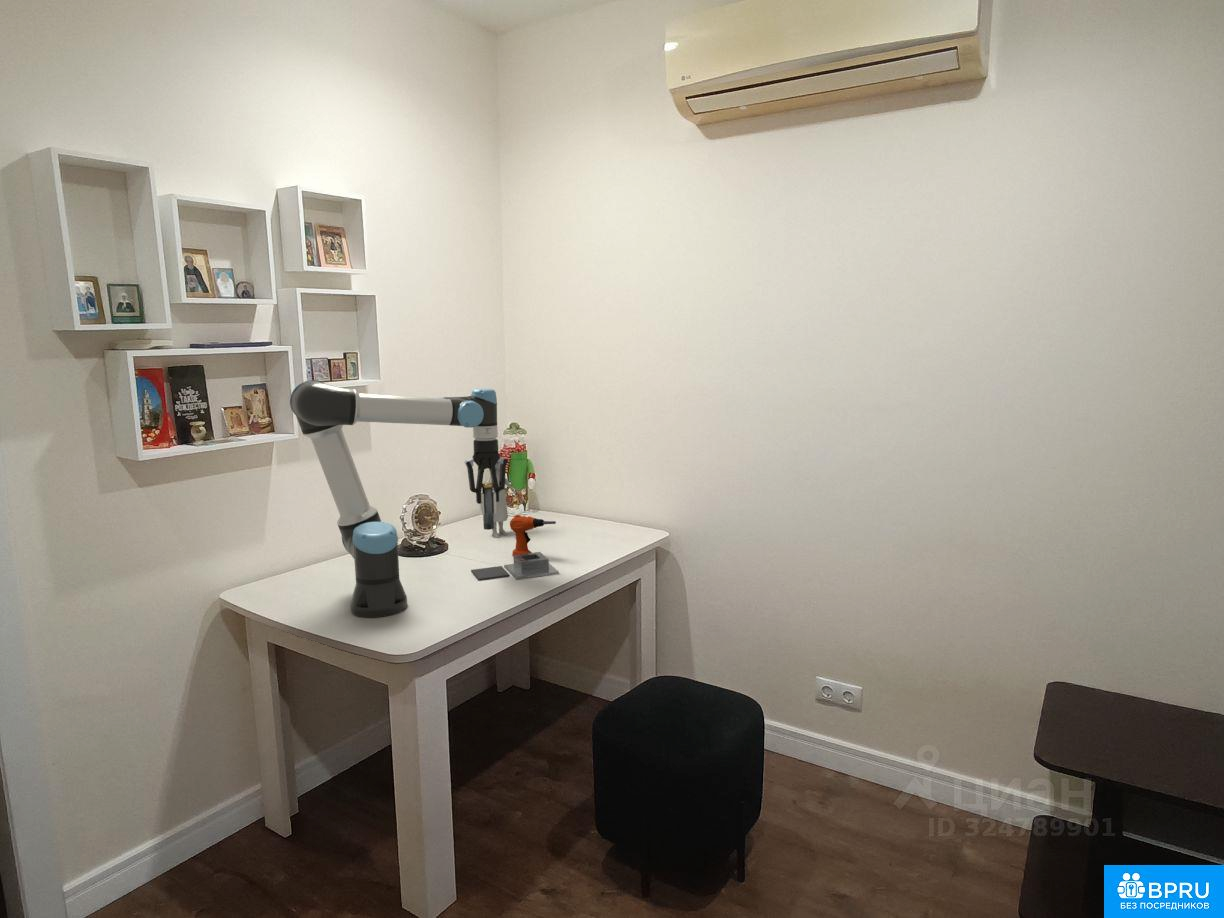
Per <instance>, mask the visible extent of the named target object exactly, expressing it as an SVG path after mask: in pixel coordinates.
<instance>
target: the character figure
mask: <svg viewBox="0 0 1224 918" xmlns="http://www.w3.org/2000/svg"><path fill="white" fill-rule="evenodd" d="M495 469H496V476H497V481H498V486H499V476H500V463H499V460H498V462H497V464H496V465H495ZM509 481H510V480H509V479H508V478H507V477H505V486H507V487H508V488H509V489H510V490H511V492H513V493H514V494H515V493H516V491H515V489H514V488H513V486H512V485H511V483H510V482H509ZM486 482H491V483H492V479H491V474H490V473H489V476H488V478H487V481H486ZM493 491H494V489H493ZM507 505H508V504H507V499H506V493H505V489H504V490H500V492H499V502H496V513H493V515H494V529H491V530H492V536H493V537H495V538H500V535H503V536H508V535H509V533H508V532H506V530H505V529H504V522H506V521H507V520H508V518H509V514H508V506H507ZM497 523H498V525H497ZM497 526H498V531H497Z"/></svg>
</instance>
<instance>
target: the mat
mask: <svg viewBox="0 0 1224 918" xmlns="http://www.w3.org/2000/svg"><path fill="white" fill-rule="evenodd" d="M470 571H471V572H470V573H472V574H473V576H474V577H475V579H476V580H477V581H484V580H485V581H487V580H493V579H500V578H501V579H502V578H507V577H509V576H510V575H511V574H510V573H509V572H508V571H507V570H506V569H505V567H503V566H502V565H498V566H490V567H483V568H475V569H474V568H473V569H471V570H470Z"/></svg>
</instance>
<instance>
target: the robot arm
mask: <svg viewBox="0 0 1224 918" xmlns="http://www.w3.org/2000/svg"><path fill="white" fill-rule="evenodd" d="M289 405H290V406H289V407H290V409H291V411H292V412H293V413H292V414H294V415H295V417H296V420H297V422H298V425H299V426H300V427H299V428H300V431H301V432H302V435H303V436H305V437H308V438H309V439H310V440H311V443H312V444H313V448H314V451H315V453H316V456H317V459H318V461H319V464H320V466H321V469H322V471H323V474H324V477H325V480H326V482H327V485H328V487H329V490H330V492H331V495H332V498H333V501H334V503H335V506H336V508H337V511H338V514H339V518H338V520H337V522H336V524H337V526H338V529H339V532H340V534H341V541H342V545H343V547H344V549H345V550H346V551H347V553H348V554H350V555H351V557H352V559H353V560H354V571H355V572H354V573H355V586H354V590H353V593H352V597H351V600H350V611H351V614H353V615H355V616H357V617H363V618H380V617H386V616H391V615H395V614H398V613H400V612H402V611H404V610H405V609H406V608H407V607H408V598H407V594H406V592H405V589H404V587H403V585H402V582H401V578H400V567H399V566H400V565H399V562H400V561H399V543H398V542H399V536H398V532H397V529H396V527H395V526H394V525H393V524H391V523H389V522H384V521H382V520H381V516H380V514H379V512H378V509H377V508H376V507H374V506H371V505H370V502H369V500H368V497H367V493H366V491H365V489H364V486H363V484H362V481H361V480H362V479H361V478H360V475H359V473H358V470H357V467H356V464H355V462H354V459H353V456H352V453H351V450H350V447H349V446H348V443H347V439H346V437H345V434H344V432H343V427H344V426H354V425H355V424H356V423H358V422H359V423H364V422H366V423H381V424H382V423H386V424H406V425H407V424H409V425H410V424H411V425H432V426H433V425H434V426H435V425H436V426H453V427H455V426H456V427H463V428H471V429H472V432H473V433H472V437H473V438H474V440H473V455H472V458H470V459H468V460H467V459H466V460H464V465H465V466H466V469H467V476H468V485H469V491H471V492H472V493H474V494H475V497H476V498H475V499H476V501H475V502H476V504H478V505H479V513H480V514H481V515H483V514H484V494H483V493H482V483H484V482H483V481H484V474H485V470H487V469H489V475H490V474H491V479H492V483H493V486H494V487H493V489H494V491H493V513H496V502H499V492H500V490H504V491H505V489H506V488H505V487H506V485H505V478H506V472H507V471H506V467H507V464H508V462H509V459H508V458H506V457H502V456H501V455H500V453H499V440H498V439H497V438H498V437H499V436H498V435H499V431H498V400H497V392H496V390H495V389H493V388H475V389H472V390H471V394H470V395H469V396H449V397H448V396H443V397H436V398H435V397H423V396H422V397H421V396H420V397H419V396H405V395H404V396H403V395H391V394H375V393H359V392H358V391H357V390H356V389H354V388H343V387H338V386H334V385H331V384H329V383H325V382H323V381H322V380H318V379H311V380H305V381H304V382H303V381H302V382H301V383H299V384H297V386H295V387H294V388H293V390H292V392H291V394H290V398H289ZM498 460H499V463H500V476H499V486H498V481H497V476H496V469H495V465H496V464H497V462H498ZM474 464H476V466H477V477H476V483H475V476H474V475H475V474H474V468H473V467H474Z"/></svg>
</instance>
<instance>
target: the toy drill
mask: <svg viewBox="0 0 1224 918" xmlns="http://www.w3.org/2000/svg"><path fill="white" fill-rule="evenodd" d="M556 523H557V522H556V521H555V520H544V519H543V518H536V517H533V516H525V515H520V514H516V515H514V517H512V519H510V521H509V527H510V529H511V530H512V531H513V532H514V533H515V534H514V535H515V540H516V541H515V548H514V549H513V550H512V553H511V554H512V557H513V555H519V554H527V553H533V552H532V551H531V550H529V549H528V548H529V546H528V543H529V542H530V541H531V540H532V539H531V538H530V536H529V535H528V534H529V533H528V532H527V531H530V530H534V529H537V528H539V527H543V526H544V525H556Z"/></svg>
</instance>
